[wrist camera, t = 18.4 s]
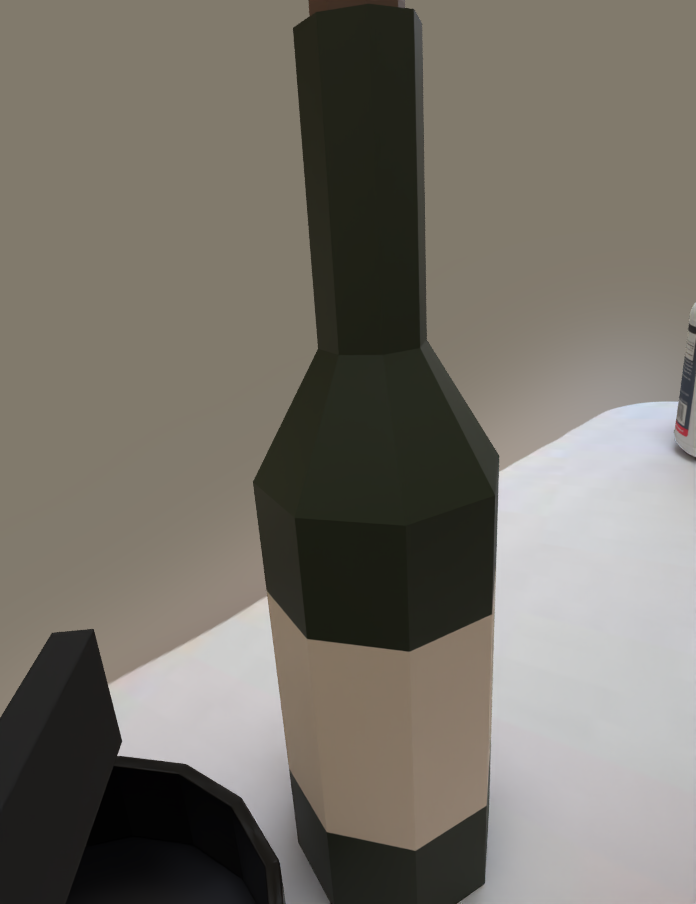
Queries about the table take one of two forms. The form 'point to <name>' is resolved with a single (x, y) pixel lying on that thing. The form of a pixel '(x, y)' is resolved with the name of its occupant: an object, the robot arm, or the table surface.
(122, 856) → the frying pan
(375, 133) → the wine bottle
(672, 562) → the table surface
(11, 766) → the robot arm
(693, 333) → the supplement tub
